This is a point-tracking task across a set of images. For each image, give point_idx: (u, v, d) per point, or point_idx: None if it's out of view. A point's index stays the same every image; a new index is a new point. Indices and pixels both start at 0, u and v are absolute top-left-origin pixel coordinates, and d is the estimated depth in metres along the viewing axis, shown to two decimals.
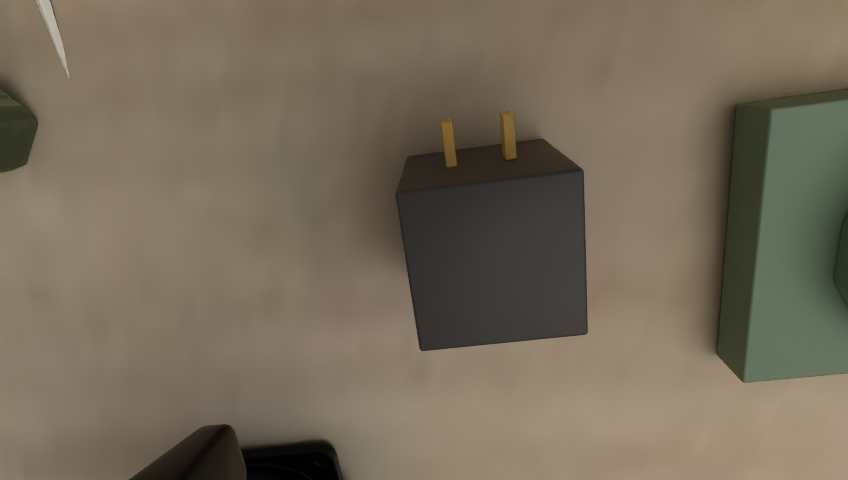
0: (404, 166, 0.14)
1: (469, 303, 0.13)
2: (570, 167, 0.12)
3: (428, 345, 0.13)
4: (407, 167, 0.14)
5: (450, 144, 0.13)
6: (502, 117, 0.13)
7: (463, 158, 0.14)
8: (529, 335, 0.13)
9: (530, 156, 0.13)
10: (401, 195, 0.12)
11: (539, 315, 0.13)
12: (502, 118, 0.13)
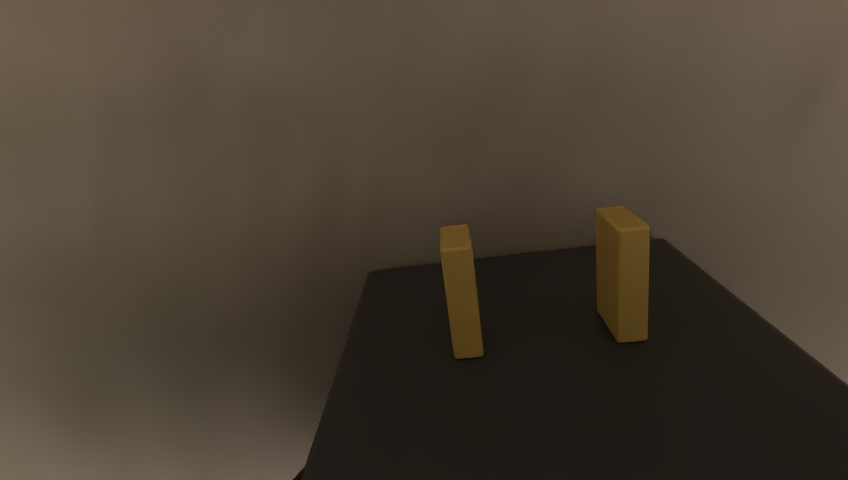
0: (353, 320, 0.06)
1: None
2: None
3: None
4: (357, 333, 0.06)
5: (466, 304, 0.05)
6: (616, 234, 0.04)
7: (494, 306, 0.06)
8: None
9: (683, 330, 0.05)
10: None
11: None
12: (615, 236, 0.05)
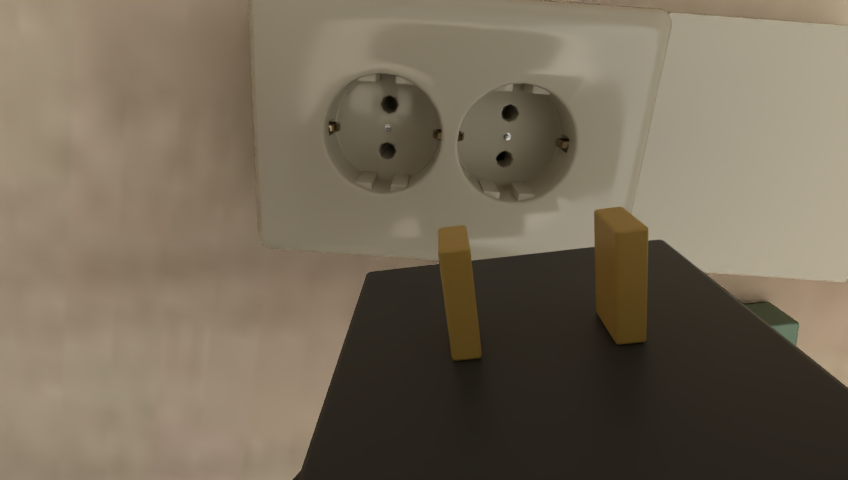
0: (351, 321, 0.06)
1: None
2: None
3: None
4: (355, 334, 0.06)
5: (464, 306, 0.05)
6: (615, 235, 0.04)
7: (493, 307, 0.06)
8: None
9: (682, 332, 0.05)
10: None
11: None
12: (614, 237, 0.05)
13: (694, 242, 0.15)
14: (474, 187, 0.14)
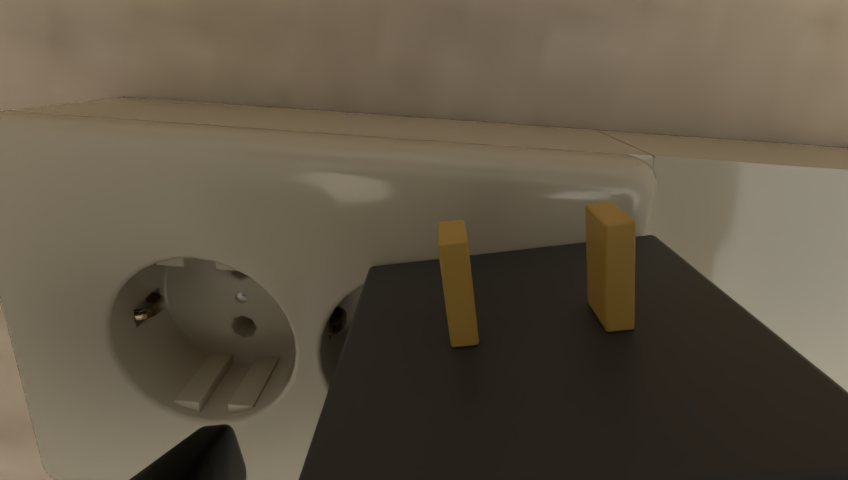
0: (355, 312, 0.06)
1: None
2: None
3: None
4: (358, 324, 0.06)
5: (462, 295, 0.05)
6: (604, 228, 0.05)
7: (490, 298, 0.06)
8: None
9: (668, 320, 0.05)
10: None
11: None
12: (603, 230, 0.05)
13: None
14: None
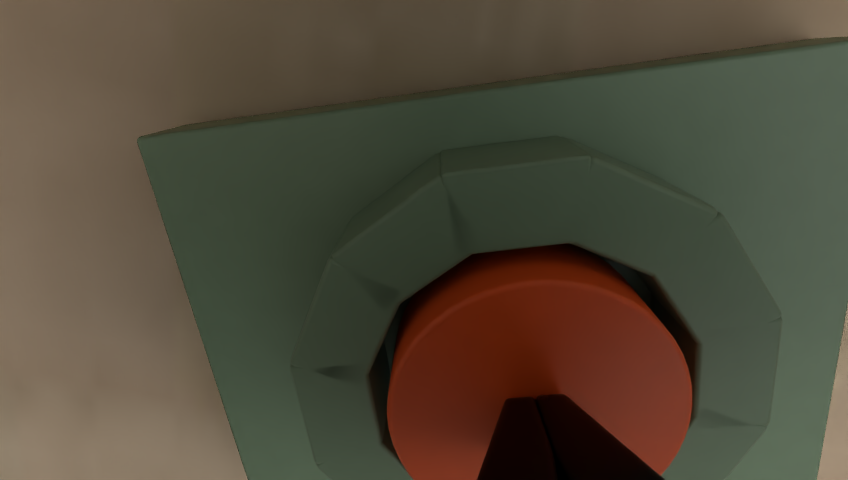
0: None
1: None
2: None
3: None
4: None
5: None
6: None
7: None
8: None
9: None
10: None
11: None
12: None
13: None
14: None
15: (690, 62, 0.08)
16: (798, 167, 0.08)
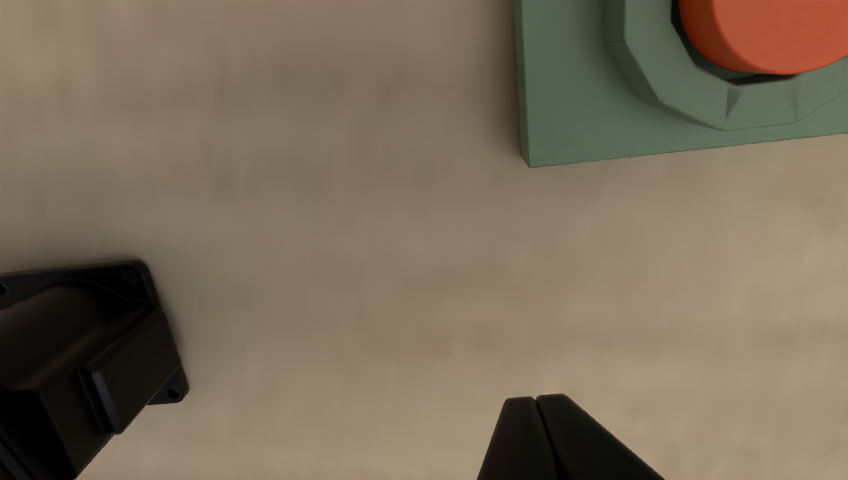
0: None
1: None
2: None
3: None
4: None
5: None
6: None
7: None
8: None
9: None
10: None
11: None
12: None
13: None
14: None
15: None
16: None
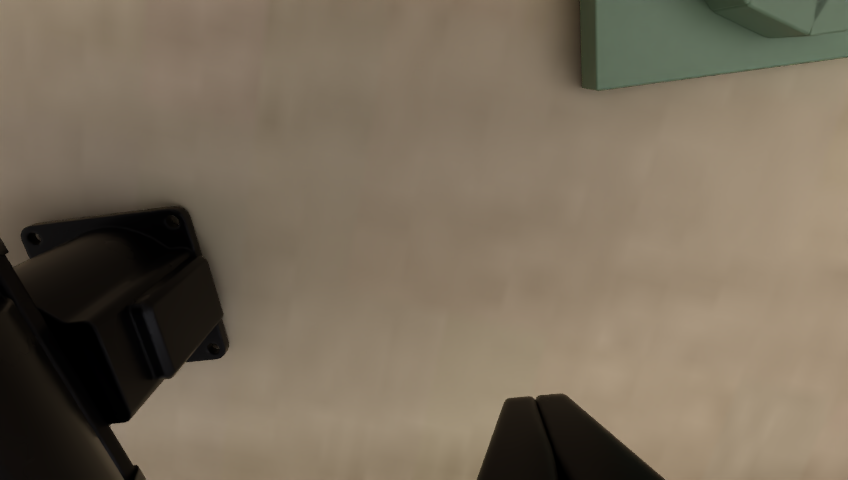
0: None
1: None
2: None
3: None
4: None
5: None
6: None
7: None
8: None
9: None
10: None
11: None
12: None
13: None
14: None
15: None
16: None
